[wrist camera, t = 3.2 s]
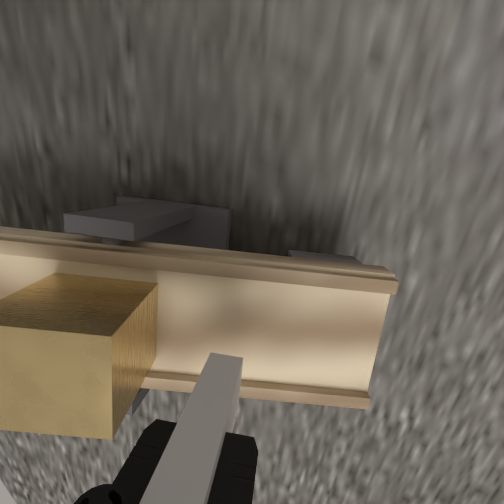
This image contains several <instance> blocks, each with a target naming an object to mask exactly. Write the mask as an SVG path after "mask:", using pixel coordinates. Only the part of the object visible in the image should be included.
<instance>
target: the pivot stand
mask: <svg viewBox="0 0 504 504" xmlns="http://www.w3.org/2000/svg"><path fill="white" fill-rule="evenodd" d="M63 216H64V232H70V233H77V234H84V235H91V236H99V237H106V238H113V239H120V240H127V241H145V242H154V243H164V244H173V245H183V246H192V247H202V248H211V249H221V250H229V240H230V229H231V218H232V209H229V208H221V207H213V206H205V205H197V204H189V203H181V202H173V201H165V200H156V199H148V198H140V197H132V196H117V197H116V206H110V207H103V208H97V209H90V210H83V211H77V212H70V213H63ZM149 390H150V389H147V388H140V389H139V391H138V393H137V395H136V397H135V399H134V400H133V402H132V404H131V406H130V408H129V410H128V412H127V415H133V413H134V412H135V410H136V409H137V408H138V406H139V405H140V403H141V402H142V400H143V399H144V397H145V396H146V394H147V393H148V391H149Z"/></svg>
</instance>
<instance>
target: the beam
mask: <svg viewBox="0 0 504 504" xmlns="http://www.w3.org/2000/svg"><path fill="white" fill-rule="evenodd" d="M53 273H65V274H74V275H84V276H94V277H104V278H113V279H123V280H133V281H143V282H153V283H158V313H157V345H156V359H155V361H154V363H153V365H152V367H151V368H150V370H149V372H148V374H147V376H146V378H145V380H144V382H143V383H142V385H141V387H140V388H147V389H158V390H168V391H179V392H189V393H192V391H193V389H194V386H195V384H196V382H197V380H198V378H199V376H200V374H201V372H202V369H203V367H204V365H205V363H206V361H207V359H208V357H209V355H210V352H212V353H218V354H224V355H230V356H236V357H242V358H243V366H242V375H241V384H240V393H239V397H242V398H253V399H263V400H274V401H285V402H295V403H306V404H316V405H327V406H338V407H348V408H359V409H368V407H369V403H370V397H369V395H368V393H367V390H368V386H369V381H370V377H371V373H372V369H373V365H374V360H375V356H376V352H377V348H378V344H379V339H380V335H381V331H382V327H383V323H384V318H385V314H386V310H387V306H388V302H389V297H390V294H393V295H396V292H397V288H398V284H399V281H398V280H396V279H395V278H394V276H395V274H393V273H392V272H390V271H389V270H387V269H386V268H385V267H383V266H373V265H364V264H362V263H361V262H359V261H358V260H357V259H356V258H355V257H352V256H343V255H333V254H324V253H315V252H305V251H296V250H288V257H287V256H278V255H268V254H259V253H249V252H240V251H230V250H221V249H211V248H202V247H192V246H183V245H173V244H164V243H154V242H145V241H127V240H120V239H113V238H106V237H97V236H88V235H78V234H69V233H59V232H50V231H40V230H31V229H21V228H12V227H2V226H0V299H2V298H4V297H6V296H8V295H10V294H12V293H14V292H16V291H18V290H20V289H22V288H25V287H27V286H29V285H31V284H33V283H35V282H37V281H39V280H41V279H43V278H45V277H47V276H49V275H51V274H53Z"/></svg>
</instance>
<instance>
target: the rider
mask: <svg viewBox="0 0 504 504" xmlns="http://www.w3.org/2000/svg"><path fill="white" fill-rule="evenodd" d="M157 313H158V283H153V282H143V281H133V280H123V279H113V278H104V277H94V276H84V275H74V274H65V273H53V274H51V275H49V276H47V277H45V278H43V279H41V280H39V281H37V282H35V283H33V284H31V285H29V286H27V287H25V288H22V289H20V290H18V291H16V292H14V293H12V294H10V295H8V296H6V297H4V298H2V299H0V430H9V431H20V432H31V433H42V434H53V435H64V436H75V437H86V438H97V439H108V440H113V438H114V436H115V434H116V432H117V430H118V429H119V427H120V425H121V423H122V421H123V419H124V417H125V415H126V414H127V412H128V410H129V408H130V406H131V404H132V402H133V400H134V399H135V397H136V395H137V393H138V391H139V389H140V387H141V385H142V383H143V382H144V380H145V378H146V376H147V374H148V372H149V370H150V368H151V367H152V365H153V363H154V361H155V359H156V345H157Z"/></svg>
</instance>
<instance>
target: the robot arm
mask: <svg viewBox="0 0 504 504" xmlns="http://www.w3.org/2000/svg"><path fill="white" fill-rule="evenodd" d="M242 366H243V358H242V357H236V356H230V355H224V354H218V353H212V352H210V355H209V357H208V359H207V361H206V363H205V365H204V367H203V369H202V372H201V374H200V376H199V378H198V380H197V382H196V384H195V386H194V389H193V391H192V393H191V395H190V397H189V399H188V401H187V403H186V406H185V408H184V410H183V412H182V414H181V416H180V418H179V420H178V423H174V422H169V421H164V420H159V419H156V420H155V421H154V422H153V423H152V424H150V425H149V426H148V427H147V428H146V429H144V431H143V433H142V434H141V436H140V438H139V439H138V441H137V443H136V446H134V448H133V450H132V451H131V453H130V455H129V458H127V460H126V462H125V463H124V465H123V467H122V468H121V470H120V472H119V473H118V475H117V477H116V478H115V480H114V482H113V484H103V485H100V486H97V487H94V488H91V489H90V490H88V491H87V492H85V493H84V494H82V495H81V496H80V497H79V498H78V499H77V500H76V502H75V503H74V504H252V498H253V490H254V481H255V473H256V465H257V457H258V449H257V446H256V443H255V439H254V437H250V436H245V435H239V434H234V433H232V431H233V427H234V422H235V418H236V414H237V410H238V402H239V393H240V384H241V375H242Z"/></svg>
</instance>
